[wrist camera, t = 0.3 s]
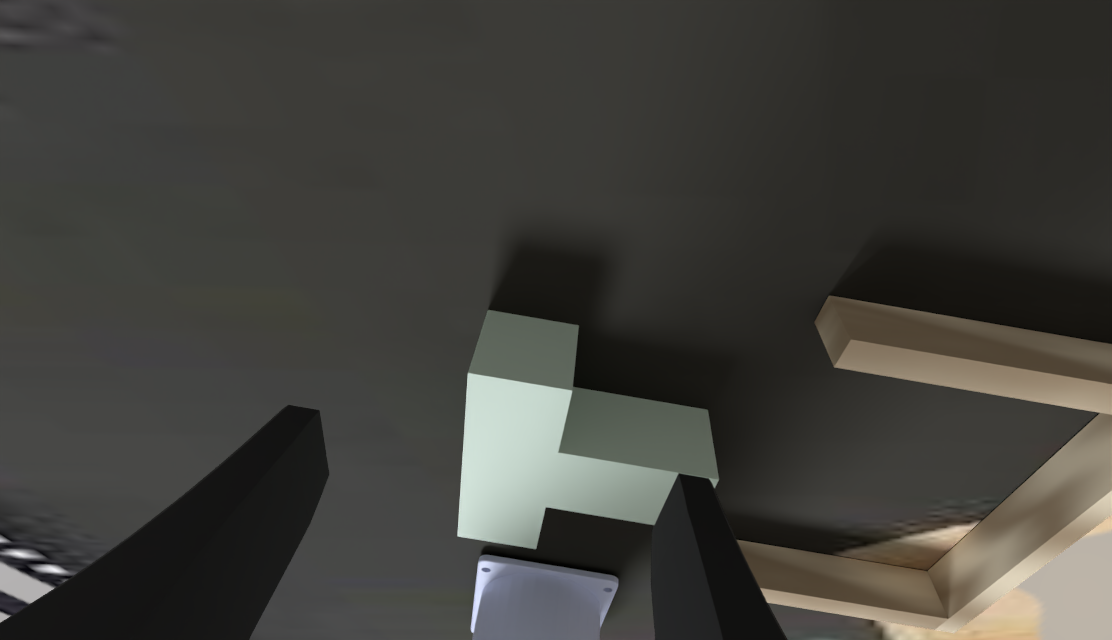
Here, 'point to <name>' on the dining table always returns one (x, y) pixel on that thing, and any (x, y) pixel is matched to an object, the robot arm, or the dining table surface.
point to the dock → (1017, 523)
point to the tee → (563, 438)
